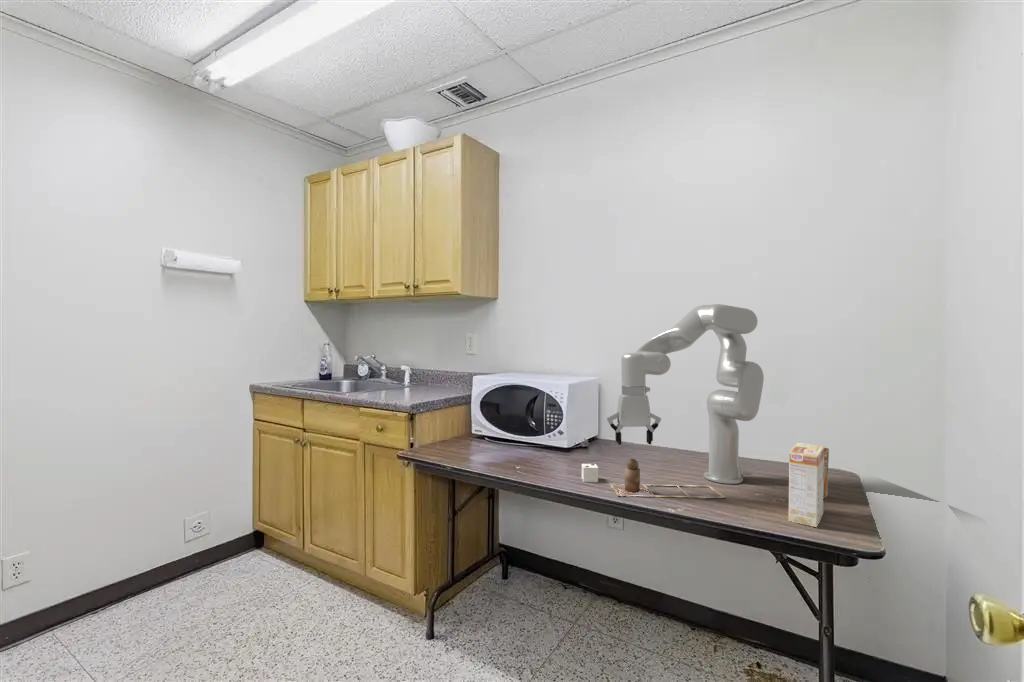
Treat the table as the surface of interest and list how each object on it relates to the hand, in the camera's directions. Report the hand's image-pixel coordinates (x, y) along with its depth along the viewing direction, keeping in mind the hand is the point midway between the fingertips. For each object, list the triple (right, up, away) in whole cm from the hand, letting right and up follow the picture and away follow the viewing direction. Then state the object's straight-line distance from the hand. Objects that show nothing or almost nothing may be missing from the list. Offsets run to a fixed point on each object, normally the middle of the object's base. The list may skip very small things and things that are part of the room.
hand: (634, 443), depth 152 cm
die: (-13, -15, +11) cm, 23 cm away
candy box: (+57, -16, -4) cm, 60 cm away
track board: (+10, -16, 0) cm, 19 cm away
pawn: (-1, -15, 0) cm, 15 cm away
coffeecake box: (+43, -16, -21) cm, 50 cm away
